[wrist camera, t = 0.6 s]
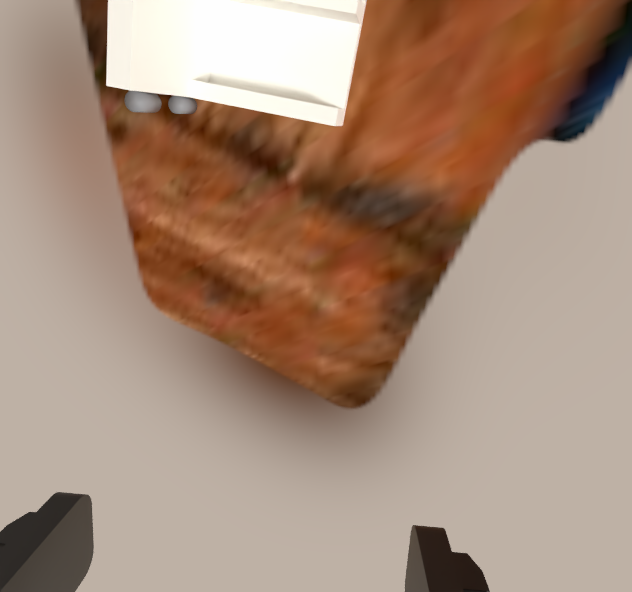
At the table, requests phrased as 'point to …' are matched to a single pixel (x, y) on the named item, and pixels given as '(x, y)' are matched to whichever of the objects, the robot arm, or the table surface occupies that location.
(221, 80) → the white open box
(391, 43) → the table surface
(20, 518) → the robot arm
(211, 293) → the table surface
